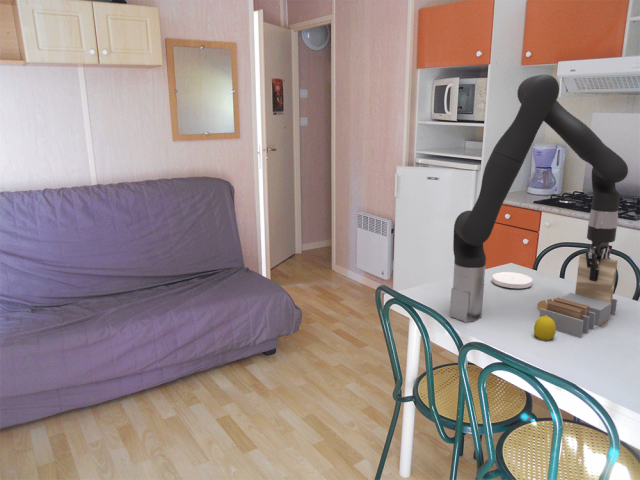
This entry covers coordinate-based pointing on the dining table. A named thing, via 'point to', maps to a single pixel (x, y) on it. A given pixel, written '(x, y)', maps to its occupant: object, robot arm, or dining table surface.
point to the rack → (596, 316)
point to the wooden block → (603, 285)
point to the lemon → (544, 328)
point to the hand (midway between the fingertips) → (595, 279)
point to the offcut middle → (574, 305)
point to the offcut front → (565, 310)
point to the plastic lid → (512, 280)
